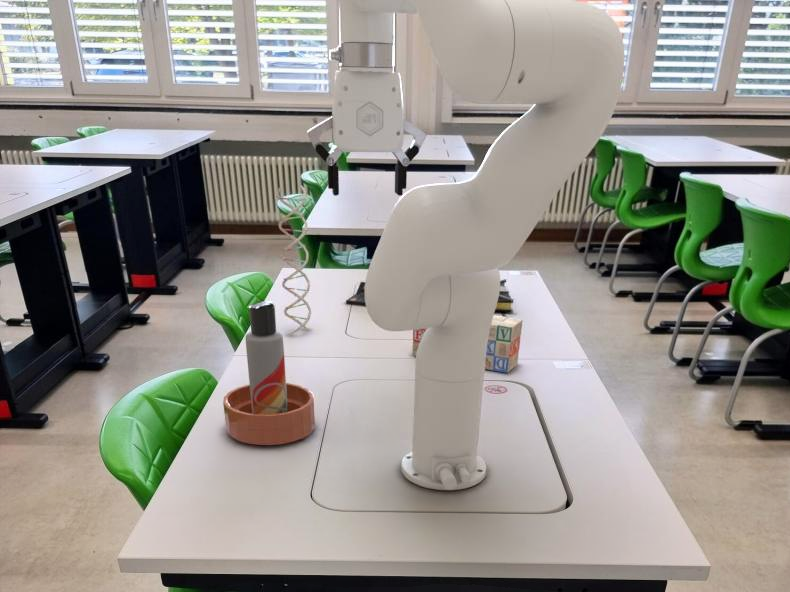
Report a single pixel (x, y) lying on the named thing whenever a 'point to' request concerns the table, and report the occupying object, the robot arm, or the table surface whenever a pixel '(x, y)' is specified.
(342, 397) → the table surface
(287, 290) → the dna model
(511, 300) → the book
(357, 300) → the calculator
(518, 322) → the stack of blocks
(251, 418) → the bowl
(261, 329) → the lotion bottle
